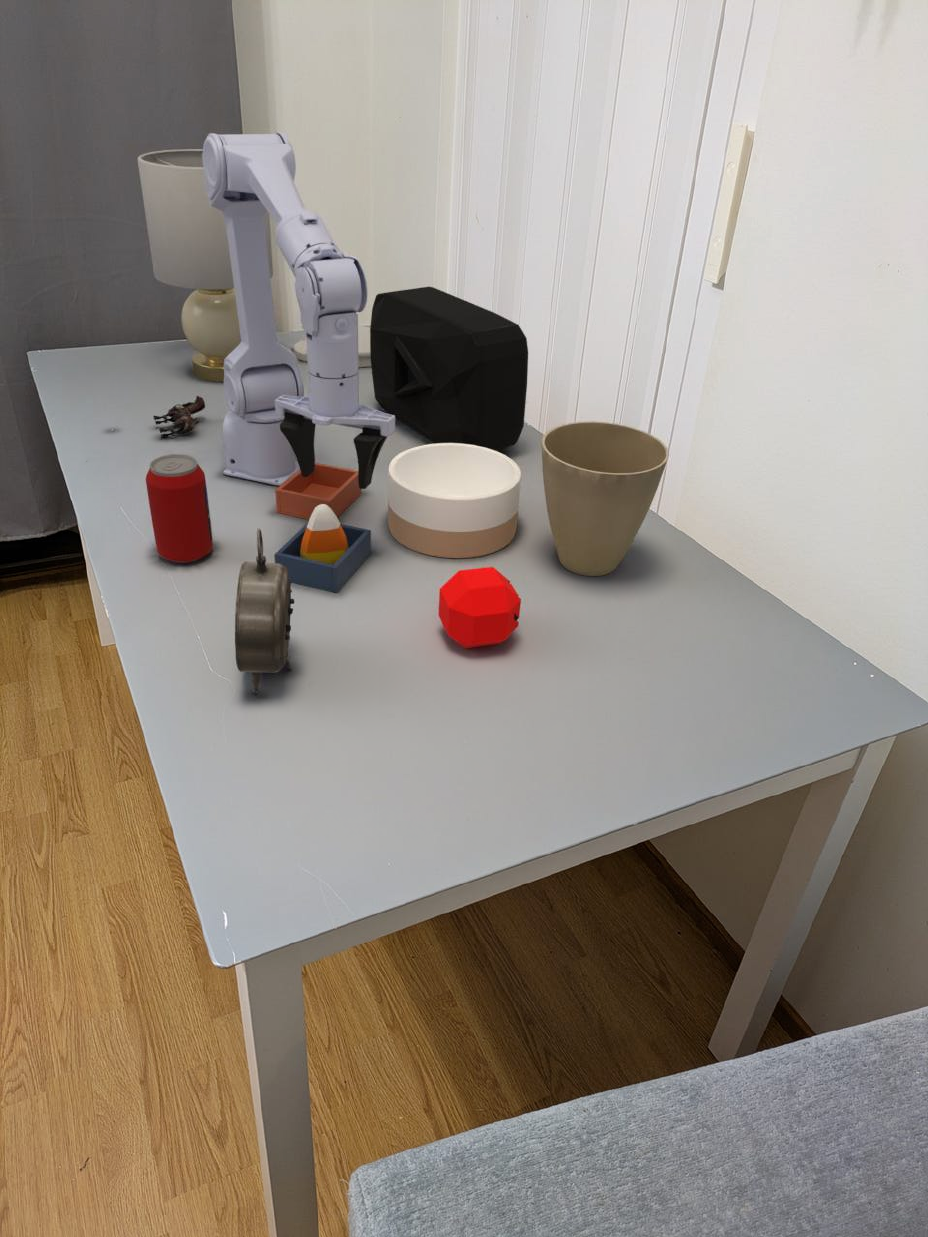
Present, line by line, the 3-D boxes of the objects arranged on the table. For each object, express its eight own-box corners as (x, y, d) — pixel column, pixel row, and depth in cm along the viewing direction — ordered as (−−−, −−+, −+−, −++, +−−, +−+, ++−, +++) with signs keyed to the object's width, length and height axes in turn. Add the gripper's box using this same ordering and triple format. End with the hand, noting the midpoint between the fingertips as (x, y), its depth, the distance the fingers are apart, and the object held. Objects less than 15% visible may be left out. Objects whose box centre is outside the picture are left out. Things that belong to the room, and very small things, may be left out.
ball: (522, 652, 99) (529, 593, 95) (452, 662, 97) (455, 601, 93) (499, 612, 106) (504, 555, 101) (433, 620, 104) (435, 562, 99)
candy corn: (346, 554, 114) (345, 496, 110) (351, 566, 112) (350, 507, 107) (298, 559, 113) (295, 500, 108) (302, 571, 110) (299, 512, 106)
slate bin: (276, 578, 109) (274, 554, 107) (313, 541, 117) (312, 517, 115) (337, 592, 107) (336, 568, 106) (371, 553, 115) (371, 530, 113)
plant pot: (509, 543, 119) (520, 428, 110) (608, 527, 124) (625, 415, 116) (564, 603, 108) (581, 480, 99) (669, 581, 113) (694, 463, 104)
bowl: (421, 569, 113) (423, 509, 108) (367, 509, 125) (367, 453, 120) (540, 543, 120) (546, 485, 115) (478, 489, 132) (481, 434, 127)
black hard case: (522, 456, 143) (534, 327, 131) (459, 473, 136) (466, 339, 125) (413, 395, 162) (415, 278, 151) (353, 407, 156) (351, 287, 145)
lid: (291, 340, 184) (290, 325, 182) (390, 339, 188) (390, 324, 186) (296, 369, 170) (295, 353, 168) (402, 367, 174) (403, 351, 172)
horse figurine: (125, 464, 139) (220, 433, 143) (116, 442, 137) (213, 411, 141) (114, 436, 145) (205, 407, 149) (105, 414, 142) (198, 385, 146)
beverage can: (224, 546, 115) (214, 457, 108) (194, 571, 110) (182, 480, 103) (178, 535, 117) (165, 447, 110) (146, 559, 111) (131, 469, 105)
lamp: (175, 353, 174) (149, 146, 155) (282, 354, 177) (270, 151, 157) (158, 390, 158) (126, 164, 138) (276, 391, 160) (261, 169, 140)
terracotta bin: (276, 512, 123) (275, 489, 121) (310, 483, 131) (309, 461, 129) (330, 524, 121) (329, 501, 119) (361, 493, 129) (361, 471, 127)
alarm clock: (249, 638, 99) (236, 504, 90) (300, 638, 99) (292, 504, 90) (237, 703, 90) (221, 560, 81) (293, 702, 90) (283, 561, 81)
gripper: (258, 370, 102) (267, 481, 110) (378, 392, 99) (378, 504, 106) (288, 352, 108) (294, 459, 115) (402, 372, 104) (401, 480, 112)
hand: (336, 479), depth 111 cm, fingers open, 7 cm apart
